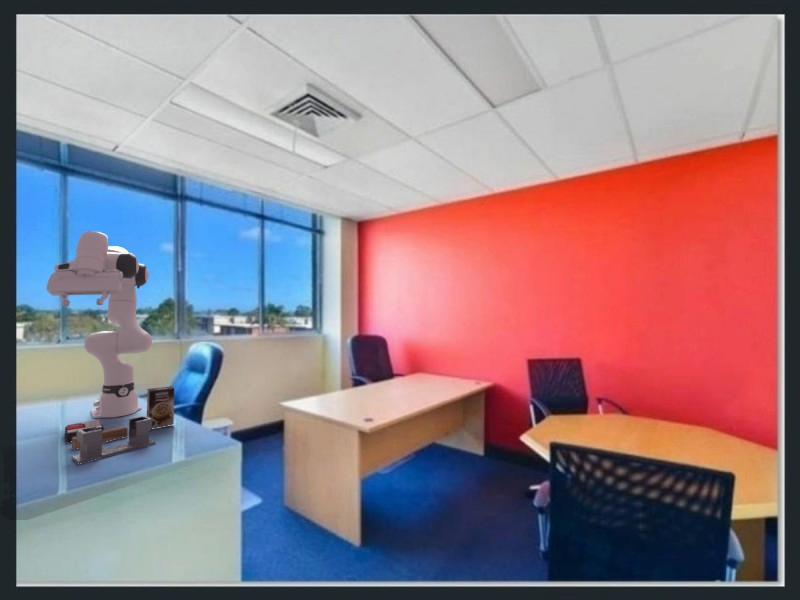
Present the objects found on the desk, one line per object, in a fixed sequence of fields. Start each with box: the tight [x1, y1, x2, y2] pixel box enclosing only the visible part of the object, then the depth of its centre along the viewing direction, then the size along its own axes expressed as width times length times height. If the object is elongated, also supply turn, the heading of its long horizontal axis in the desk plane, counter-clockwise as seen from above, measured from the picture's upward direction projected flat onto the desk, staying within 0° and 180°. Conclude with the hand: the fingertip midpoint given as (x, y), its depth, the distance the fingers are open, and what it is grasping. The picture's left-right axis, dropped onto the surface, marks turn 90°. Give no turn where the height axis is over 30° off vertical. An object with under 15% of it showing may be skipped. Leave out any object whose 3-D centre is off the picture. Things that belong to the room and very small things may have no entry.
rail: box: [71, 425, 129, 450], centre depth 140 cm, size 3×16×4 cm, turn 145°
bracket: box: [71, 415, 156, 465], centre depth 131 cm, size 7×22×10 cm, turn 145°
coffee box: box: [146, 386, 175, 429], centre depth 158 cm, size 9×6×16 cm
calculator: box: [64, 419, 104, 443], centre depth 148 cm, size 11×4×15 cm
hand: (82, 304), depth 127 cm, fingers open, 8 cm apart
